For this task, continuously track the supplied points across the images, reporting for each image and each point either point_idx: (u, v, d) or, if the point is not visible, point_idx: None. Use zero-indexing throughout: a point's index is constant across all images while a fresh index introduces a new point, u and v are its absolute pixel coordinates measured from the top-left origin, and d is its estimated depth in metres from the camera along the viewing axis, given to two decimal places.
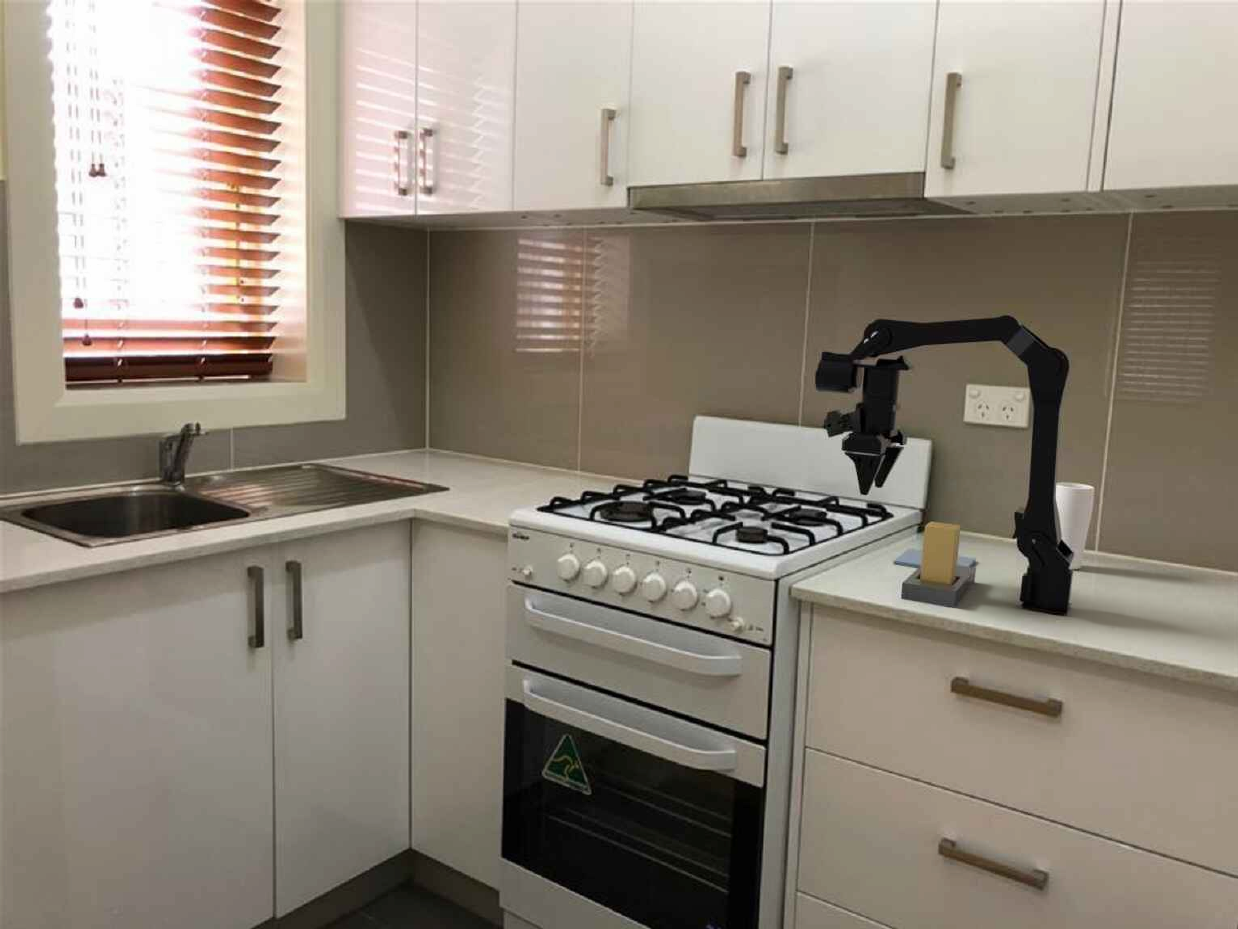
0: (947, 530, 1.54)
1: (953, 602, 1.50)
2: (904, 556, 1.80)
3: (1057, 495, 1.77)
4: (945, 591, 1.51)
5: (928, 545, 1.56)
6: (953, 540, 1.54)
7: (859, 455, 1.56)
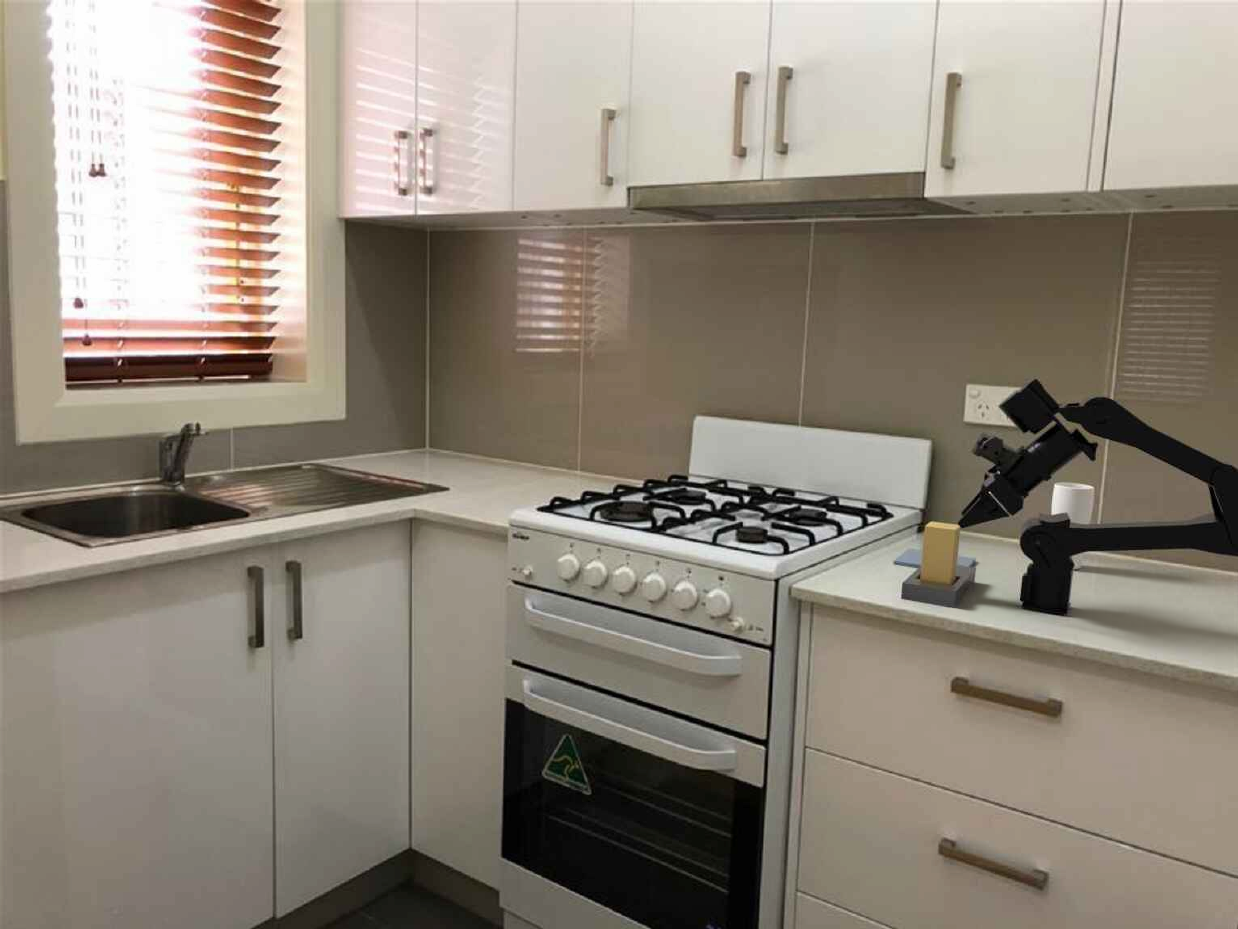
0: (947, 530, 1.54)
1: (953, 602, 1.50)
2: (904, 556, 1.80)
3: (1057, 495, 1.77)
4: (945, 591, 1.51)
5: (928, 545, 1.56)
6: (953, 540, 1.54)
7: (993, 499, 1.46)
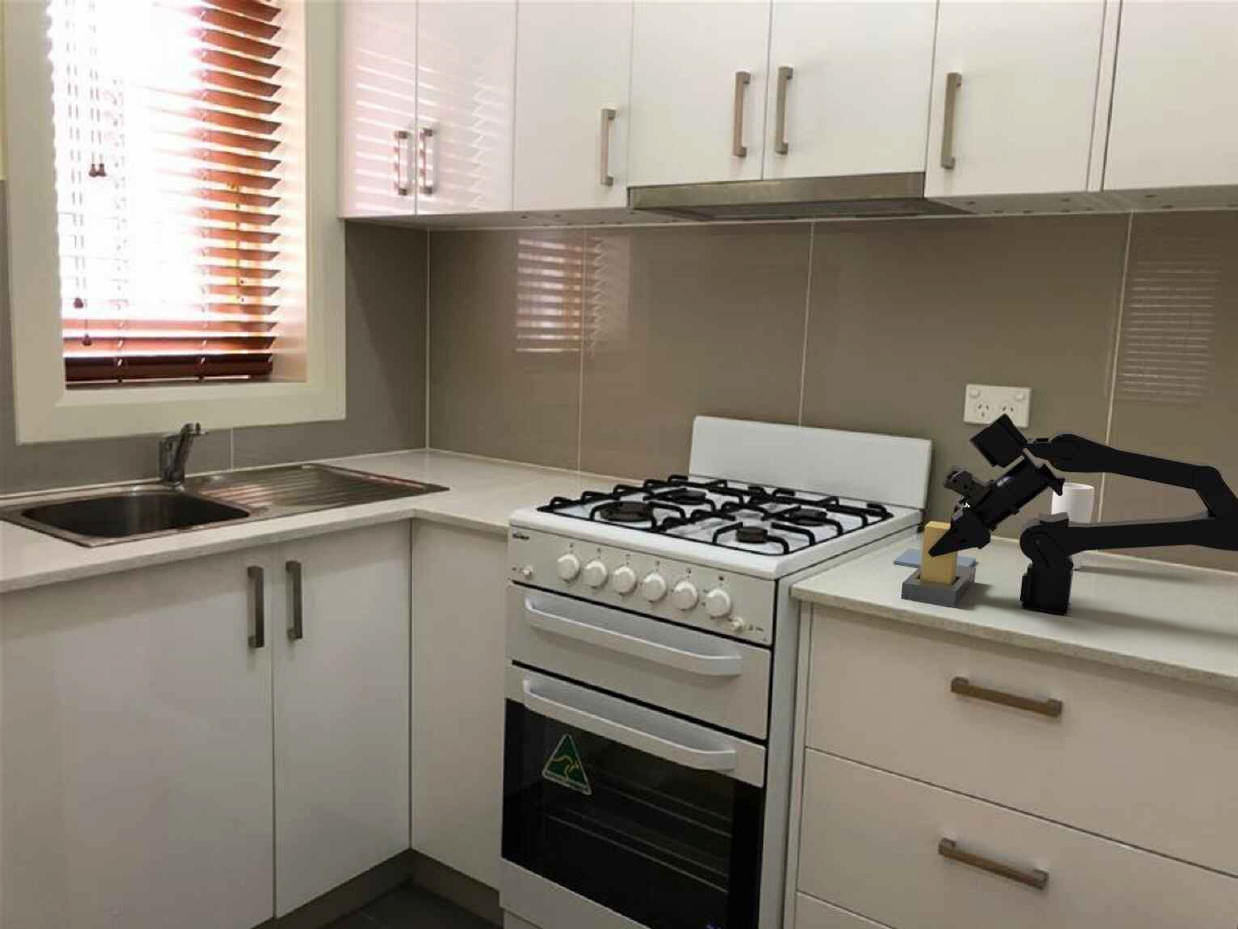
0: None
1: (953, 602, 1.50)
2: (904, 556, 1.80)
3: (1057, 495, 1.77)
4: (945, 591, 1.51)
5: (928, 545, 1.56)
6: None
7: (961, 530, 1.50)
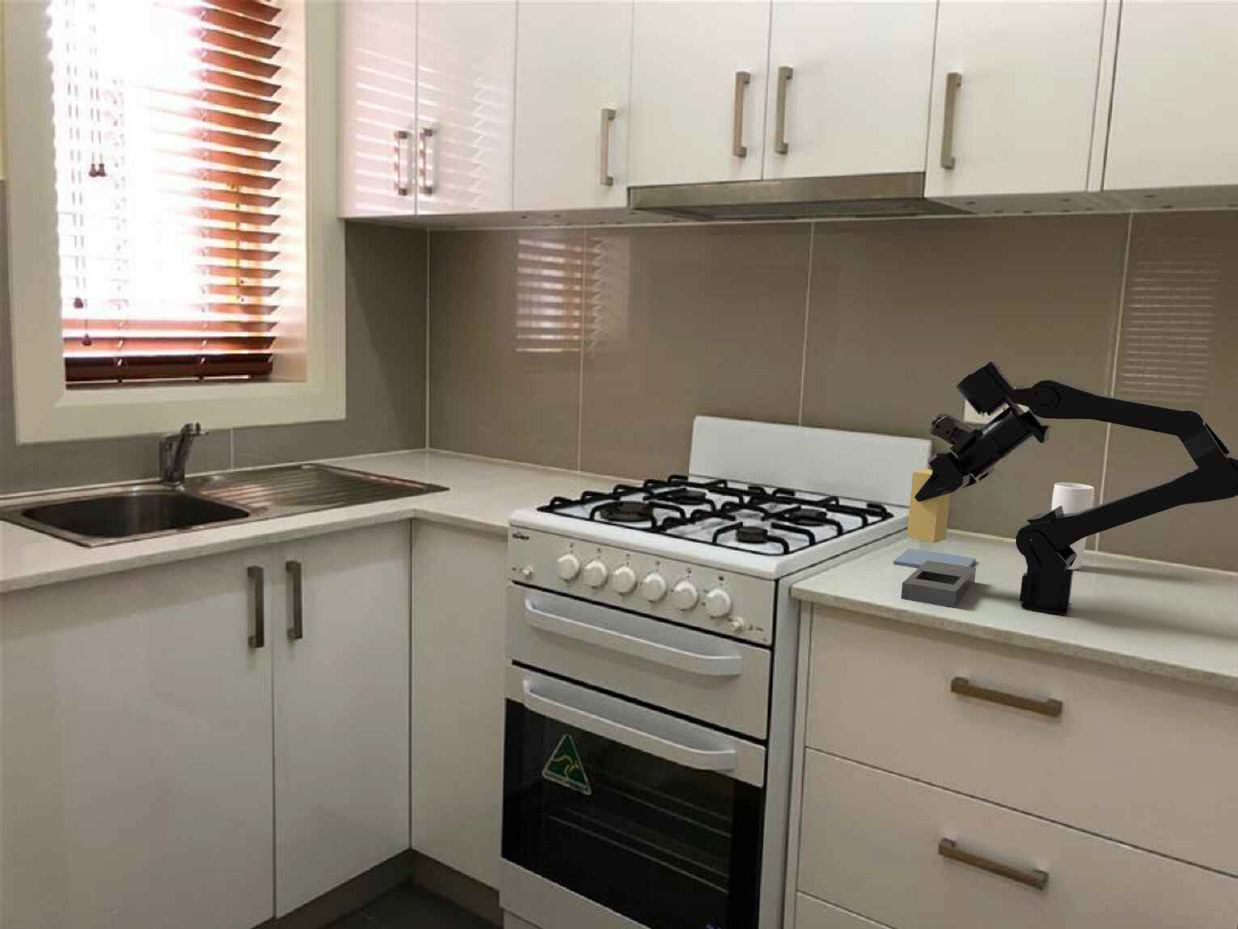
0: None
1: (953, 602, 1.50)
2: (904, 556, 1.80)
3: (1057, 495, 1.77)
4: (945, 591, 1.51)
5: (916, 490, 1.60)
6: None
7: None
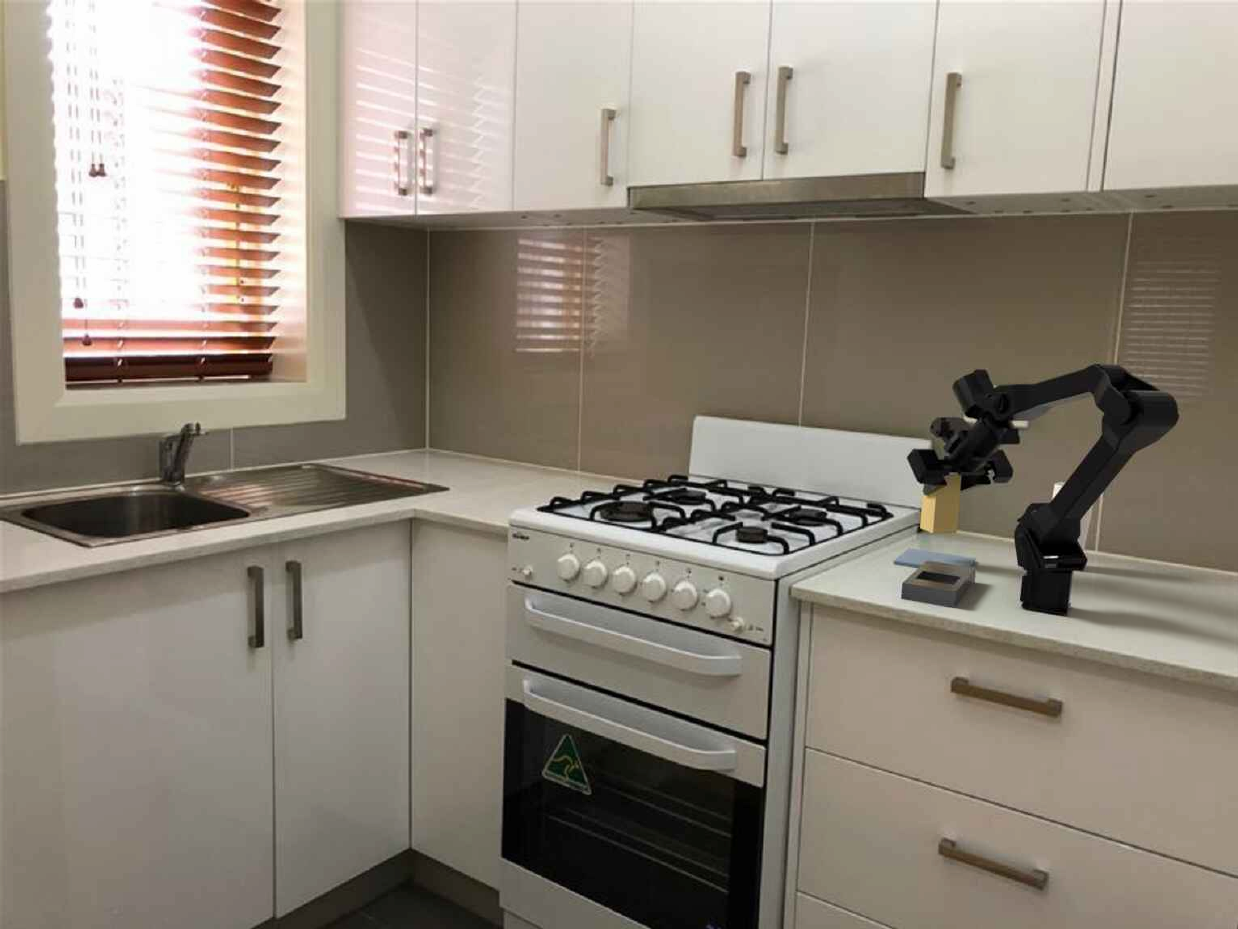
0: None
1: (953, 602, 1.50)
2: (904, 556, 1.80)
3: None
4: (945, 591, 1.51)
5: None
6: None
7: None
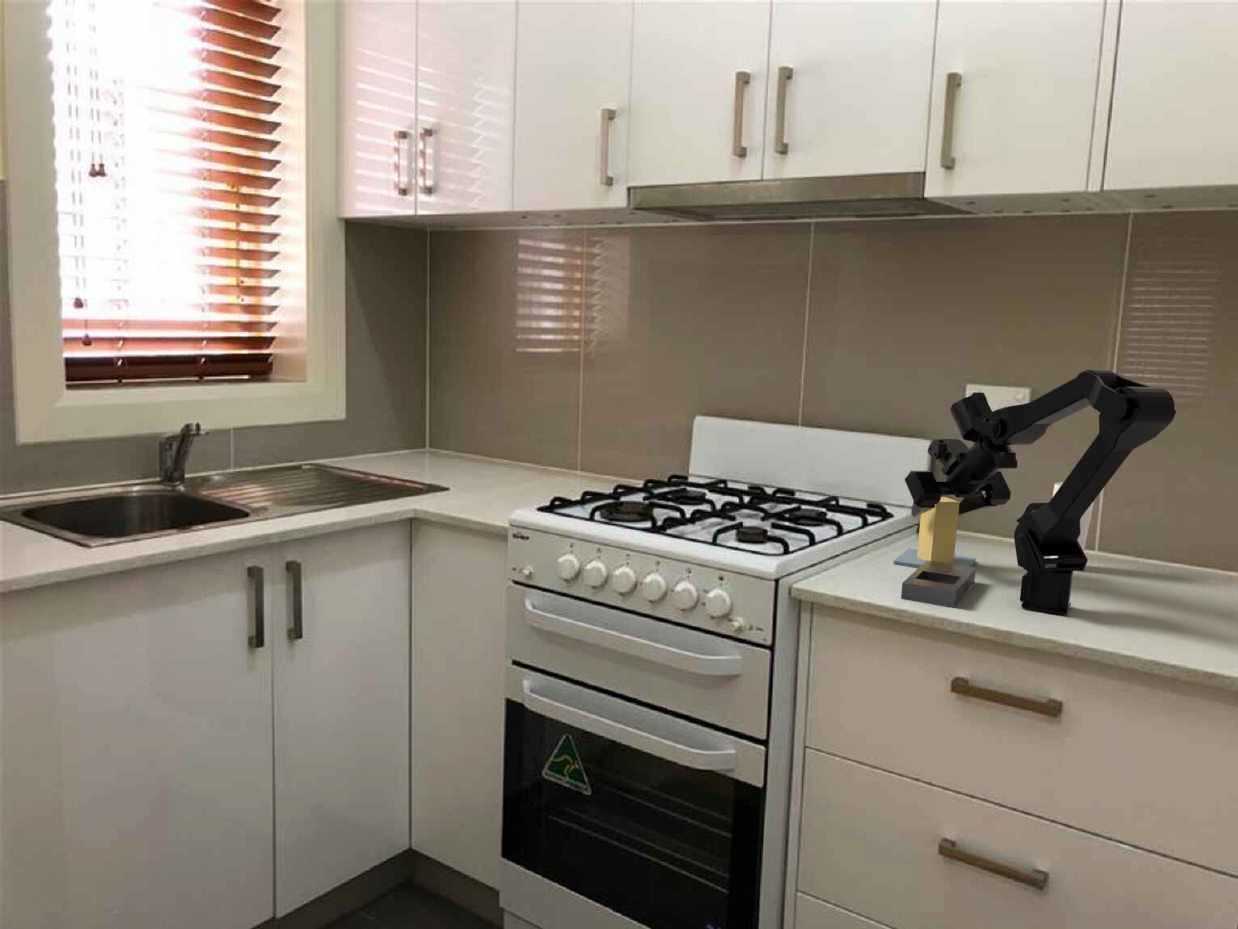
0: None
1: (953, 602, 1.50)
2: (904, 556, 1.80)
3: None
4: (945, 591, 1.51)
5: (923, 514, 1.78)
6: (935, 511, 1.75)
7: None
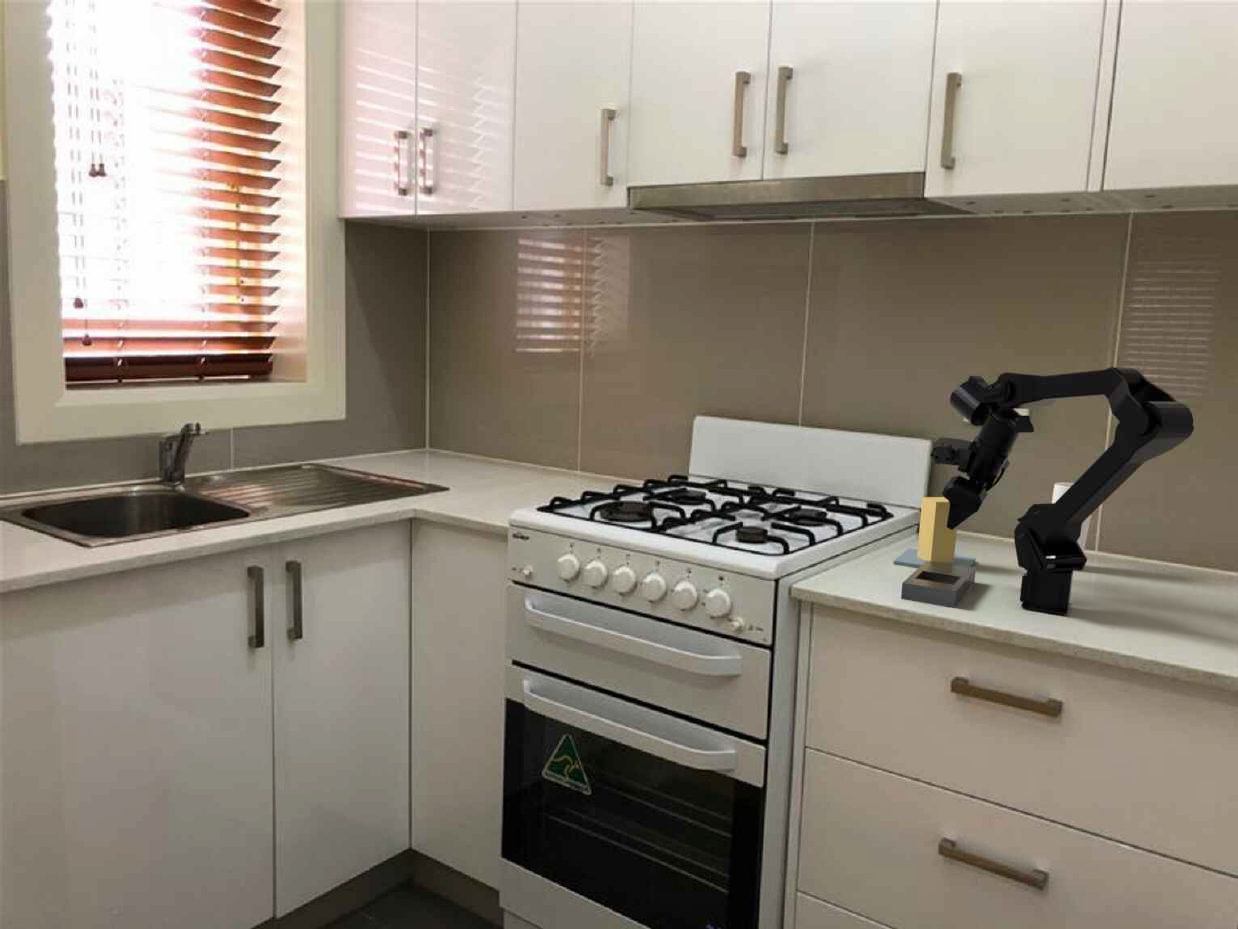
0: (932, 502, 1.75)
1: (953, 602, 1.50)
2: (904, 556, 1.80)
3: (1057, 495, 1.77)
4: (945, 591, 1.51)
5: (923, 514, 1.78)
6: (935, 511, 1.75)
7: (957, 503, 1.60)
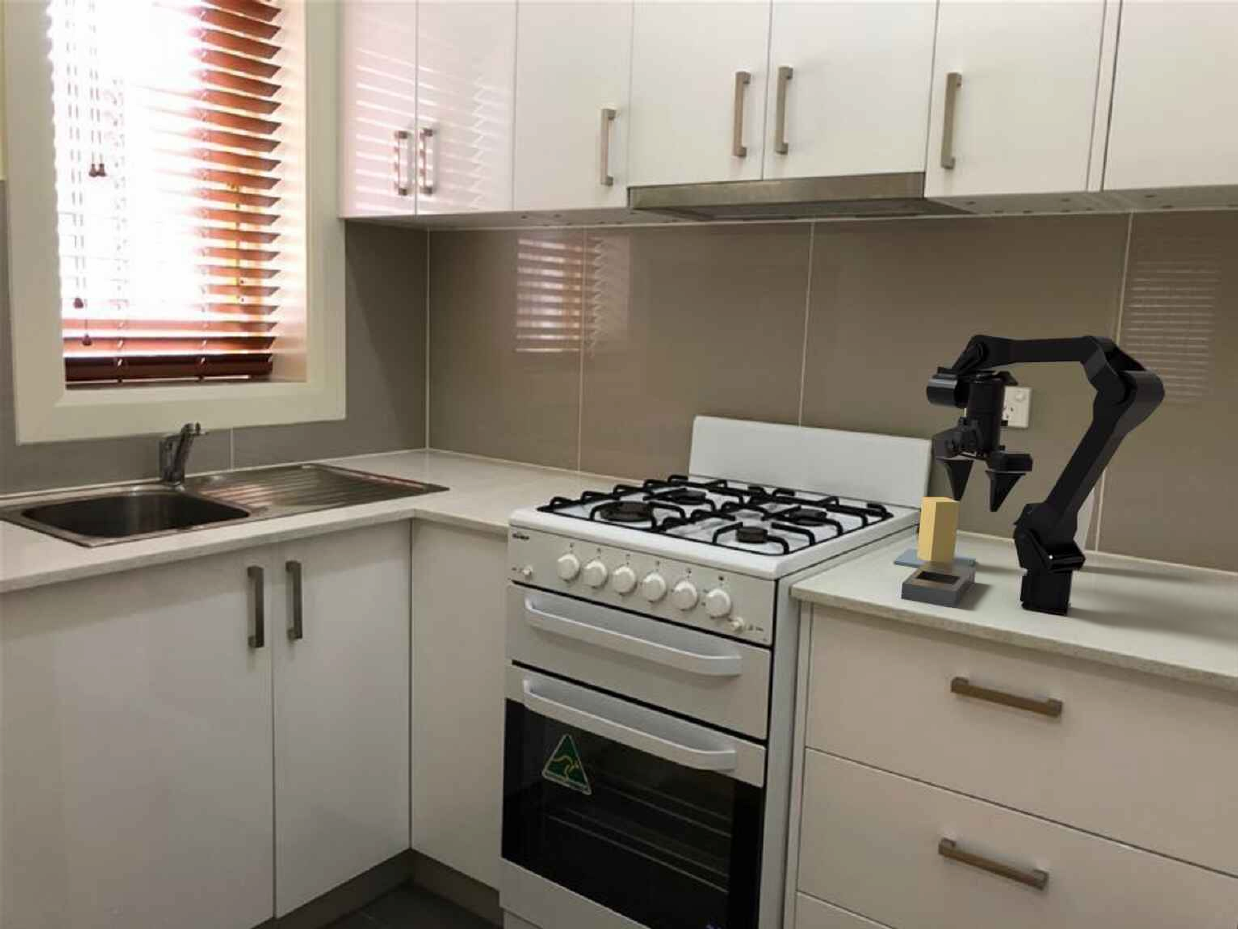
0: (932, 502, 1.75)
1: (953, 602, 1.50)
2: (904, 556, 1.80)
3: None
4: (945, 591, 1.51)
5: (923, 514, 1.78)
6: (935, 511, 1.75)
7: (1010, 474, 1.55)
